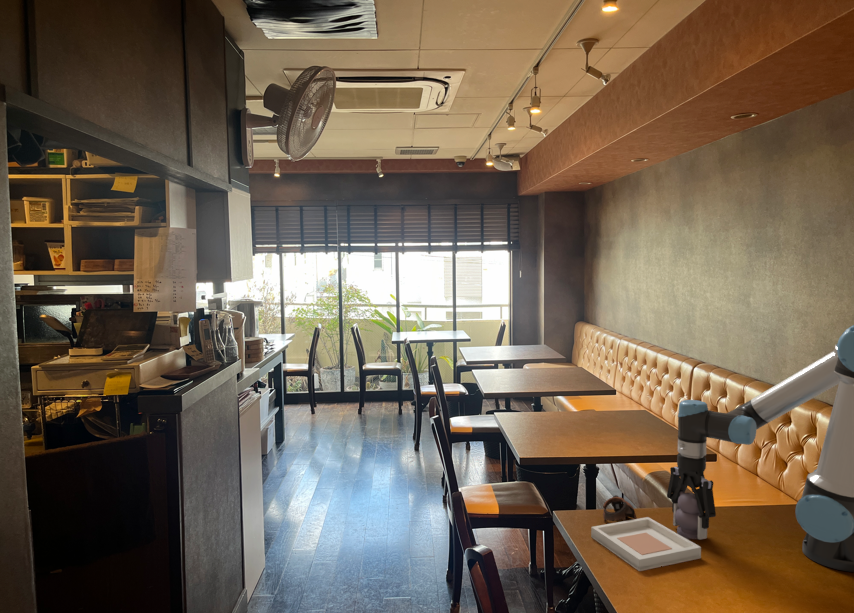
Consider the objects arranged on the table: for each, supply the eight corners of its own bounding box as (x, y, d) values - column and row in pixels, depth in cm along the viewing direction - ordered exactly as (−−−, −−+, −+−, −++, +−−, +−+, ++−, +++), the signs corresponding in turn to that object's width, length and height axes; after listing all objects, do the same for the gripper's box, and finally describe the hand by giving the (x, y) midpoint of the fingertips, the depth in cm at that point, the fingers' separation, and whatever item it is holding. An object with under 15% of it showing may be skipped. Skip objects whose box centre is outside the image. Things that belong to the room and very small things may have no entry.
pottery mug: (643, 529, 168) (633, 508, 166) (613, 541, 170) (603, 520, 168) (631, 503, 180) (621, 483, 178) (603, 514, 182) (593, 495, 180)
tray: (700, 558, 150) (701, 547, 150) (639, 571, 144) (639, 559, 143) (647, 526, 169) (648, 517, 169) (591, 537, 162) (591, 526, 162)
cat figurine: (711, 539, 161) (712, 498, 160) (687, 542, 159) (688, 500, 158) (691, 526, 169) (692, 487, 169) (668, 529, 167) (669, 489, 167)
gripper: (654, 445, 172) (653, 518, 173) (711, 467, 152) (709, 550, 153) (674, 443, 174) (672, 515, 175) (732, 464, 154) (730, 545, 155)
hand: (689, 531), depth 164 cm, fingers closed on cat figurine, 8 cm apart
